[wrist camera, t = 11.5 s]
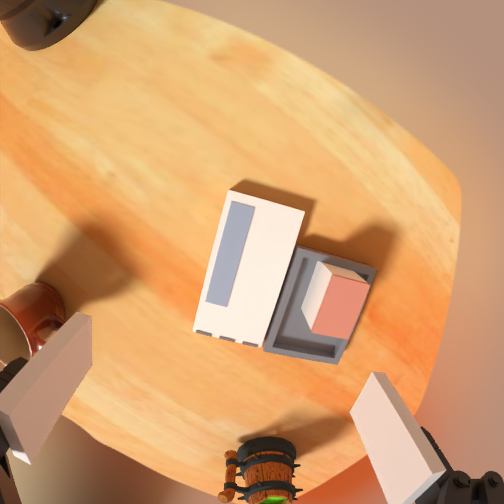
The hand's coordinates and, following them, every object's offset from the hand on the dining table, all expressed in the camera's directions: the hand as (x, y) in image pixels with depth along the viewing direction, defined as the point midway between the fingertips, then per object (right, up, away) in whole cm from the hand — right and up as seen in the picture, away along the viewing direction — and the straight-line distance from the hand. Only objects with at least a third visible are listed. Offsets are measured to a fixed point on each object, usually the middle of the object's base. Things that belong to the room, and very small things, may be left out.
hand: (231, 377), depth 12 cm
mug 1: (-25, -2, +21) cm, 33 cm away
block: (+9, +1, +21) cm, 23 cm away
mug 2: (+2, -26, +28) cm, 39 cm away
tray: (+8, -1, +22) cm, 24 cm away
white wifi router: (0, +3, +21) cm, 21 cm away
